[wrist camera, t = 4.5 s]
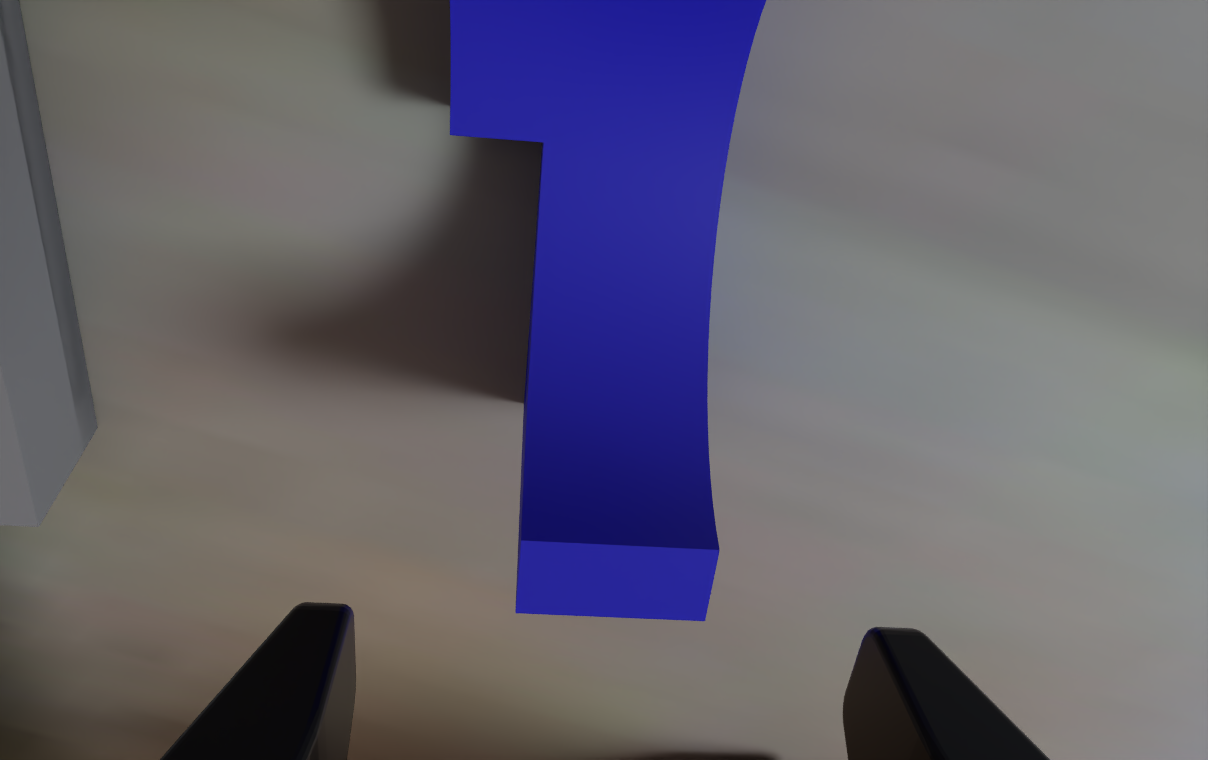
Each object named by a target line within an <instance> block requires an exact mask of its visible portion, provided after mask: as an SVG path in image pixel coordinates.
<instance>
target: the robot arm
mask: <svg viewBox="0 0 1208 760" xmlns="http://www.w3.org/2000/svg"><path fill="white" fill-rule="evenodd" d="M355 691H356V662H355V632H354V614H353V611H352V609H351V608H350V607H349V606H348V605H346V604H335V603H311V602H305V603H301V604H299V605H297V606H296V607H294V608H293V609H292V610H291V612H290V613H289V614H288V615H287V616H286V617H285V618H284V619H283V621H282V622H281V623H280V624H279V625H278V626H277V627H276V629H275V630H274V631H273V632H272V633H271V634H270V635H269V636H268V638H267V639H266V640H265V641H264V642H263V643H262V644H261V646H260V647H259V648H258V649H257V650H256V651H255V652H254V653H253V655H252V656H251V657H250V658H249V659H248V660H247V661H246V663H245V664H244V665H243V666H242V667H241V668H240V669H239V671H238V672H237V673H236V674H235V675H234V676H233V677H232V678H231V680H230V681H229V682H228V683H227V684H226V685H225V686H224V688H223V689H222V690H221V691H220V692H219V693H218V694H217V695H216V697H215V698H214V699H213V700H212V701H211V702H210V703H209V705H208V706H207V707H206V708H205V709H204V710H203V711H202V712H201V714H200V715H199V716H198V717H197V718H196V719H195V720H194V722H193V723H192V724H191V725H190V726H189V727H188V728H187V729H186V731H185V732H184V733H183V734H182V735H181V736H180V737H179V739H178V740H177V741H176V742H175V743H174V744H173V745H172V746H171V748H170V749H169V750H168V751H167V752H166V753H165V754H164V756H163V757H162V758H161V759H160V760H347V755H348V747H349V740H350V733H351V725H352V718H353V711H354V703H355ZM843 724H844V732H845V740H846V747H847V754H848V760H1050V759H1049V758H1048V757H1047V756H1046V755H1045V754H1044V753H1043V752H1042V751H1041V750H1040V749H1039V748H1038V747H1037V746H1036V745H1035V744H1034V743H1033V742H1032V741H1031V740H1030V739H1029V738H1028V737H1027V736H1026V735H1025V734H1024V733H1023V732H1022V731H1021V730H1020V729H1019V728H1018V727H1017V726H1016V725H1015V724H1014V723H1013V722H1012V721H1011V720H1010V719H1009V718H1008V717H1007V716H1006V715H1005V714H1004V713H1003V712H1002V711H1001V710H1000V709H999V708H998V707H997V706H996V705H995V704H994V703H993V702H992V701H991V700H990V699H989V698H988V697H987V696H986V695H985V694H984V693H983V692H982V691H981V690H980V689H979V688H978V687H977V686H976V685H975V684H974V683H973V682H972V681H971V680H970V679H969V678H968V677H967V676H966V675H965V674H964V673H963V672H962V671H961V670H960V669H959V668H958V667H957V666H956V665H955V664H954V663H953V662H952V661H951V660H950V659H949V658H948V657H947V656H946V655H945V654H944V653H943V652H942V651H941V650H940V649H939V648H938V647H937V646H936V645H935V644H934V643H933V642H932V641H931V640H930V639H929V638H928V637H927V636H926V635H925V634H924V633H922V632H920V631H919V630H916V629H912V628H890V627H875V628H871V629H870V630H868V632H867V633H866V634H865V636H864V638H863V640H862V643H861V646H860V649H859V652H858V655H857V658H856V661H855V664H854V667H853V671H852V674H851V677H850V680H849V683H848V686H847V689H846V692H845V696H844V702H843Z"/></svg>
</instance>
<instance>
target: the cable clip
mask: <svg viewBox="0 0 1208 760" xmlns="http://www.w3.org/2000/svg"><path fill="white" fill-rule="evenodd" d="M765 2H766V0H450V29H451V104H450V135H456V136H469V137H481V138H494V139H506V140H519V141H532V142H542V155H541V169H540V183H539V197H538V212H537V226H536V240H535V254H534V269H533V283H532V297H531V311H530V326H529V340H528V354H527V369H526V383H525V397H524V417H523V442H522V466H521V491H520V516H519V540H518V565H517V590H516V613H526V614H549V615H573V616H596V617H620V618H644V619H667V620H691V621H705V618H706V613H707V608H708V604H709V599H710V594H711V589H712V584H713V579H714V574H715V570H716V565H717V560H718V555H719V544H718V538H717V532H716V525H715V517H714V509H713V501H712V490H711V479H710V464H709V446H708V411H707V373H708V339H709V317H710V302H711V287H712V275H713V263H714V253H715V243H716V234H717V225H718V217H719V209H720V201H721V194H722V187H723V180H724V173H725V167H726V161H727V155H728V149H729V143H730V138H731V133H732V127H733V122H734V117H735V112H736V107H737V103H738V98H739V94H740V89H741V85H742V81H743V77H744V73H745V68H746V64H747V60H748V57H749V53H750V50H751V46H752V42H753V39H754V35H755V32H756V29H757V26H758V23H759V20H760V16H761V13H762V10H763V8H764V5H765Z"/></svg>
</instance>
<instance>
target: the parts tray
mask: <svg viewBox="0 0 1208 760" xmlns="http://www.w3.org/2000/svg"><path fill="white" fill-rule="evenodd" d="M97 428H98V427H97V421H96V416H95V410H94V405H93V400H92V394H91V389H90V383H89V378H88V372H87V367H86V362H85V356H84V351H83V345H82V340H81V334H80V329H79V324H78V318H77V313H76V307H75V302H74V297H73V291H72V286H71V280H70V275H69V269H68V264H67V259H66V253H65V248H64V242H63V237H62V232H61V226H60V221H59V215H58V210H57V204H56V199H55V194H54V188H53V183H52V177H51V172H50V167H49V161H48V156H47V150H46V145H45V139H44V134H43V129H42V123H41V118H40V112H39V107H38V101H37V96H36V91H35V85H34V80H33V74H32V69H31V64H30V58H29V53H28V47H27V42H26V36H25V31H24V26H23V20H22V15H21V9H20V4H19V0H0V525H11V526H31V527H39V525H40V524H41V522H42V520H43V519H44V517H45V515H46V514H47V512H48V510H49V509H50V507H51V505H52V504H53V502H54V500H55V499H56V497H57V495H58V494H59V492H60V490H61V488H62V487H63V485H64V483H65V482H66V480H67V478H68V477H69V475H70V473H71V472H72V470H73V468H74V467H75V465H76V463H77V462H78V460H79V458H80V456H81V455H82V453H83V451H84V450H85V448H86V446H87V445H88V443H89V441H90V440H91V438H92V436H93V435H94V433H95V431H96V430H97Z"/></svg>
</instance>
